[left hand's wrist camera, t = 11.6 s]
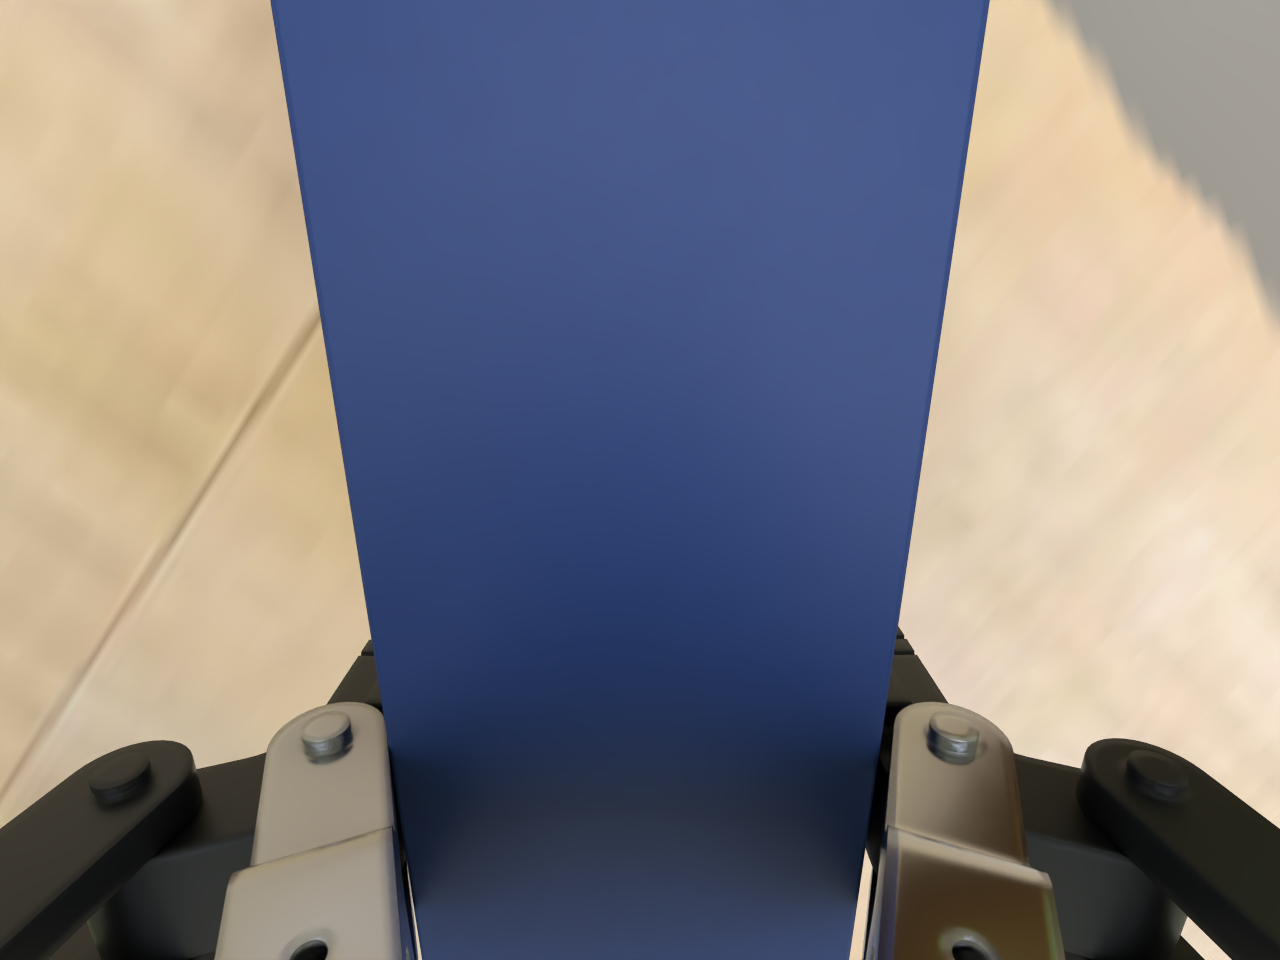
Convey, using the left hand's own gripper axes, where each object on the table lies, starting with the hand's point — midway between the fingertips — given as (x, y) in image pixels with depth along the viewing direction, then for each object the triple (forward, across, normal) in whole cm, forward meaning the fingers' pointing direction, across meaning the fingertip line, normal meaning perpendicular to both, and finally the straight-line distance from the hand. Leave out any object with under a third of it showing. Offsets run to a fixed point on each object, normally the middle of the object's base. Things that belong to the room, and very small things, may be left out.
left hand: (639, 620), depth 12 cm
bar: (+3, 0, +8) cm, 9 cm away
